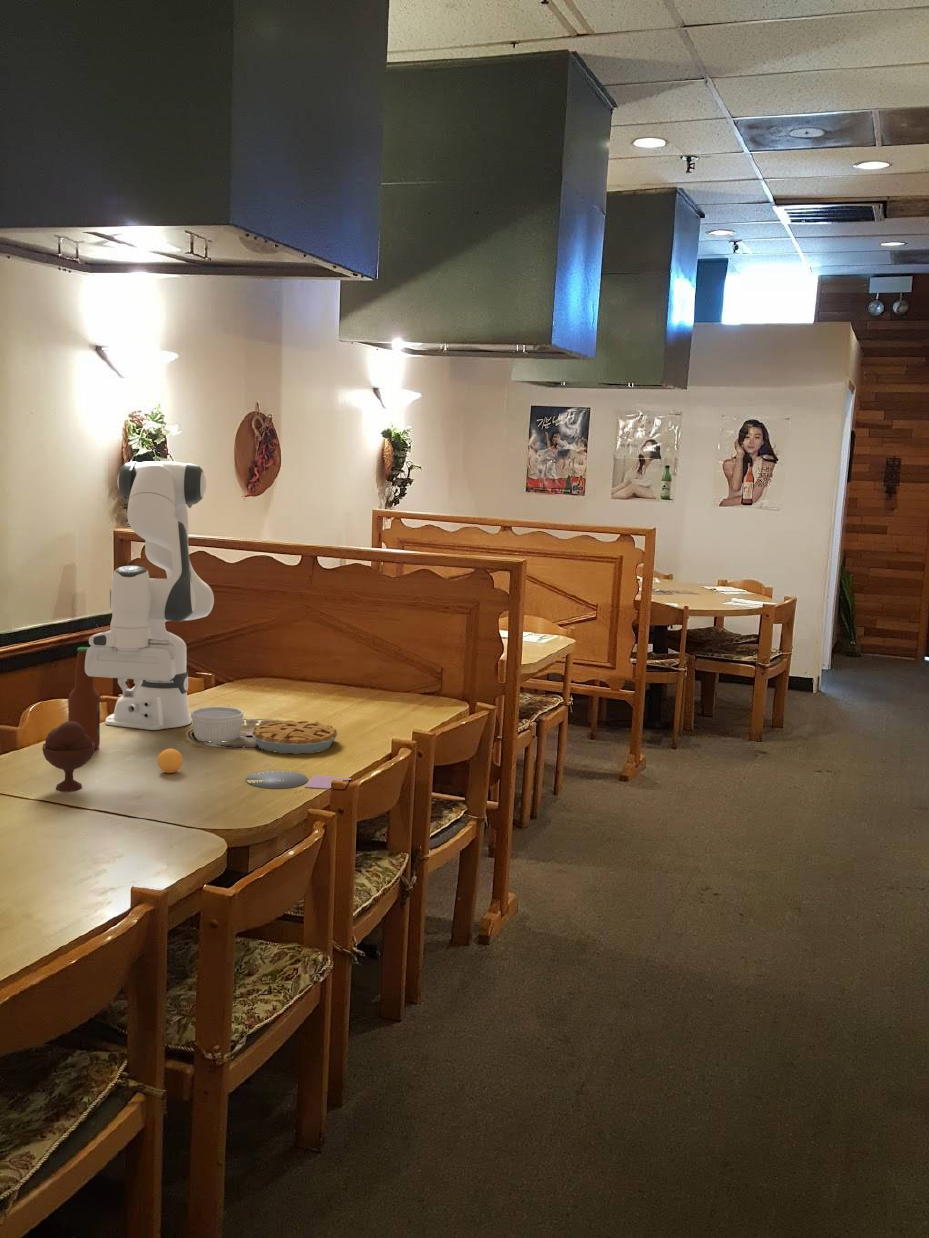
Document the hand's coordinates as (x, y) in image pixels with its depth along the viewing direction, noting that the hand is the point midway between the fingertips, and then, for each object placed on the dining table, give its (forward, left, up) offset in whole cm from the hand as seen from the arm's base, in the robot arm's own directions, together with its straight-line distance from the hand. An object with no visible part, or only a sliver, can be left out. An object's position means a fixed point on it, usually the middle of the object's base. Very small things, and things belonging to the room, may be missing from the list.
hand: (130, 697), depth 253 cm
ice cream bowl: (-7, -16, -17) cm, 25 cm away
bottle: (-17, +16, -17) cm, 29 cm away
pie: (+32, +32, -18) cm, 48 cm away
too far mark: (+47, 0, -17) cm, 50 cm away
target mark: (+35, 0, -17) cm, 39 cm away
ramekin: (+11, +34, -17) cm, 40 cm away
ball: (+10, 0, -14) cm, 17 cm away
